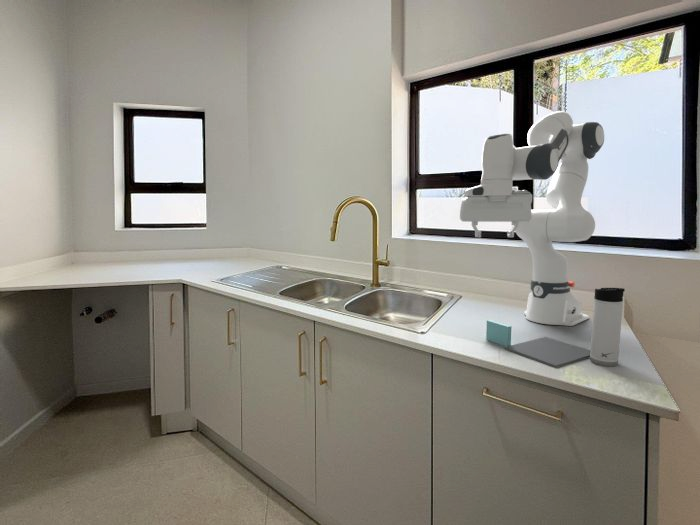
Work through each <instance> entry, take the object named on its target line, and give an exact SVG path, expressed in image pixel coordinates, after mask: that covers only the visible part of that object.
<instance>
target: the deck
mask: <svg viewBox="0 0 700 525" xmlns="http://www.w3.org/2000/svg"><path fill="white" fill-rule="evenodd" d="M485 332H486V333H485V334H486V336H485V339H486V340H487V341H491V342H493V343H496V344H498V345H501V346H504V347H507V346H511V345H512V325H508V324H505V323H502V322H498V321H496V320H495V321H494V320H492V319H488V320H486V331H485Z"/></svg>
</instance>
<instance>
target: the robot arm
mask: <svg viewBox="0 0 700 525" xmlns="http://www.w3.org/2000/svg"><path fill="white" fill-rule="evenodd" d="M526 139H527V144H528V146H522V147H516V146H515V145H514V139H513V135H512V134H511V133H500V134H494V135H489V136H487V137H486V138H485V139H484V142H483V146H482V153H481V154H482V155H481V169H482V174H481V179H480V184H479V185H475V186H473V187H471V188H467V189H466V190H465V191H464V196H465V197H464V198H463V199H462V201H461V204H460V210H459V219H460V221H461V222H465V223H466V222H468V223H469V222H471V227H472V229H473V230H474V236H475V238H482V230H478V228H477V227H478V223H479V222H480V223H485V222H486V223H487V222H490V223H491V222H495V223H496V222H498V223H499V222H502V223H503V222H506V223H507V222H508V223H509V222H510V223H511V226H512V227H511V229H510V230H507V232H506V234H507V235H506V236H507V238H514V237H515V234H516V235H517V236H518V237H519V238H520V239H521V240H522V241H523V242H524V243H525V244H526V247H528V249H529V252H530V254H531V259H532V278H531V281H530V290H531V291H530V292H529V293H528V298H527V302H526V305H527V306H526V310H524V312H523V314H524V316H525V319H527V320H528V321H530V322H533V323H537V324H543V325H553V326H556V325H557V326H566V327H568V326H569V327H572V326H575V325H578V324H580V323H582V322H584V321H586V320H588V319H590V318H589V317H590V316H589V315H588V314H585V313H583V312H582V302H581V301H580V300H579V299H578V298H577V297H576V296H575V295H574V294H573V293H572V292H571V288H574V287H575V285H576V283H575V281H570V280H568V276H569V275H568V274H569V261H568V258H567V257H566V256H565V255H564V254H563V253H561V252H560V251H557V250H556V249H555V247H554V246H553V242H555V243H556V242H557V243H559V242H561V243H562V242H563V243H576V242H583V241H588V240H589V239H590V238H591V237H592V236H593V234H594V232H595V229H596V220H595V217H594V216H593V215H592V213H591V212H589V211H587V210H586V209H585V208H584V207H583V206H582V203H581V202H582V196H583V195H584V194H583V192H584V191H585V190H584V189H585V186H586V184H587V180H588V175H589V162H588V160H592V159H593V158H594V157H595V156H596V155H597V153H598V152H599V151H601V150H600V149H601V148H602V147H603V145H604V142H605V131H604V129H603V126H602V124H600V123H599V122H598V121H588V122H584V123H579V124H574V121H573V118H572V116H571V114H569V113H568V112H566V111H562V110H559V111H554V112H551V113H549V114H547V115H545V116H542V117H541V118H540V119H539V120H537V121H536V122H535V123H534V124H532V126H531V127H530V128H529V130H528V132H527V138H526ZM560 160H561V161H560ZM559 163H560V164H559ZM551 177H552V178H551ZM549 178H551V181H550V184H549V186H548V190H547V192H546V201H547V203H548V204H549V205H550V206H551V207H552V209H532V203H533V194H532V193H531V192H530V191H528V190H526V189H522V190H519V189H518V190H517V189H516V190H515V189H514V190H513V181H524V180H538V181H539V180H543V181H545V180H549Z"/></svg>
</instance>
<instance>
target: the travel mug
mask: <svg viewBox="0 0 700 525" xmlns="http://www.w3.org/2000/svg"><path fill="white" fill-rule="evenodd" d="M624 292H625V288H623V287H600V288H595V289H594V298H593V310H592V311H593V312H592V323H591V324H592V325H591V336H590V338H591V340H590V350H591V351H590V357H589V361H591V362H592V363H593V364H595V365H599V366H603V367H615V366H617V365H619V358H620V356H619V354H620V346H621V344H620V343H621V342H620V341H621V331H622V320H623V319H622V318H623V307H624V304H623V303H624V298H623V297H624Z"/></svg>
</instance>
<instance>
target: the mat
mask: <svg viewBox="0 0 700 525" xmlns="http://www.w3.org/2000/svg"><path fill="white" fill-rule="evenodd" d="M504 350H506V351H508V352H512V353H514V354H517V355H520V356H523V357H526V358H528V359H530V360H534V361H536V362H539V363H542V364H545V365H548V366H550V367H553V368H555V369H557V368H559V367H563V366H567V365H569V364H572V363H573V364H574V363H576V362H579V361H582V360H585V359H590V351H591V349H587V348H585V347H580V346H577V345H575V344H571V343H567V342H565V341H561V340H558V339H554V338H551V337H547V336H544V337H539V338H535V339H532V340H528V341H527V340H526V341H523V342H519V343H514V344H511V346H504Z"/></svg>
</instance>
